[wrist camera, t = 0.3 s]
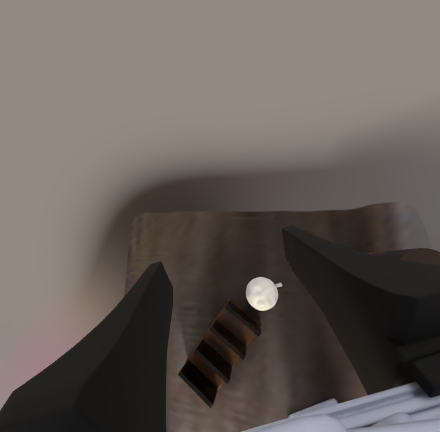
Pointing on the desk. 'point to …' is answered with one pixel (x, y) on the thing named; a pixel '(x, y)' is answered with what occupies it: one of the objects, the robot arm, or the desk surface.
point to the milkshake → (262, 293)
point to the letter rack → (219, 351)
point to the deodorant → (413, 255)
